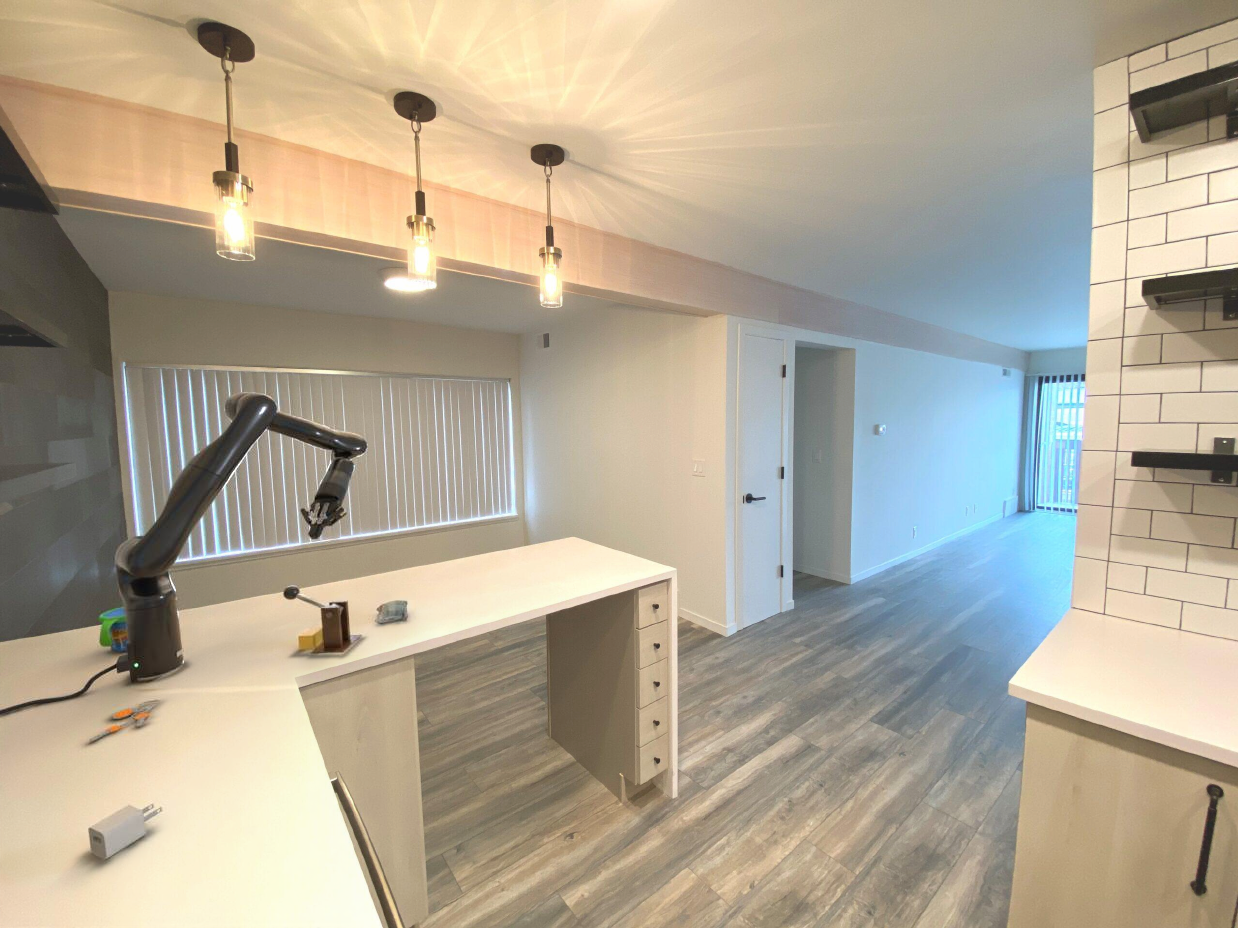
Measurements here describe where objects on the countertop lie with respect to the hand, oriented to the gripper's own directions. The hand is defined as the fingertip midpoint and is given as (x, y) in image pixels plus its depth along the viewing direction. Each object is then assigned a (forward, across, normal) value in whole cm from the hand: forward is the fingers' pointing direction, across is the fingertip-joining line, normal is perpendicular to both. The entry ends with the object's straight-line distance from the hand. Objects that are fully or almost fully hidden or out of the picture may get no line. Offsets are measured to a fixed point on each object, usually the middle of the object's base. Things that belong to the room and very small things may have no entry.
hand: (313, 537), depth 142 cm
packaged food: (+15, +18, +24) cm, 33 cm away
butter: (+27, +4, +11) cm, 30 cm away
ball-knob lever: (+19, +5, +3) cm, 20 cm away
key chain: (+49, -15, -11) cm, 52 cm away
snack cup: (+24, -46, +14) cm, 54 cm away
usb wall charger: (+70, +12, -31) cm, 78 cm away
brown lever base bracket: (+27, +11, +11) cm, 31 cm away
